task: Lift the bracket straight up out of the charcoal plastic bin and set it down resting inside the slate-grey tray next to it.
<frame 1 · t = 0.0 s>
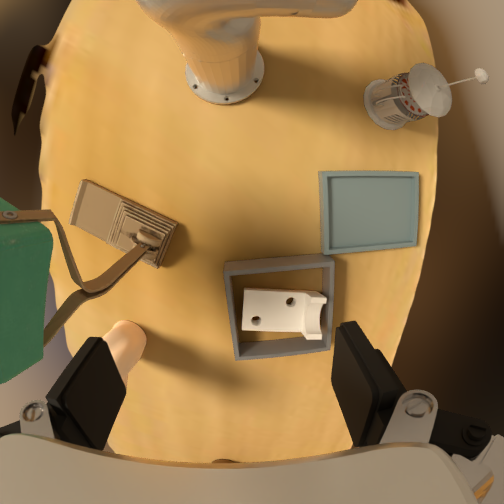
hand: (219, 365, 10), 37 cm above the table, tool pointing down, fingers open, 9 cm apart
bracket: (278, 302, 51), on the table
french press: (383, 104, 40), on the table
water bottle: (131, 333, 52), on the table
tray: (370, 209, 46), on the table
bin: (279, 303, 50), on the table
banker's lamp: (117, 219, 45), on the table
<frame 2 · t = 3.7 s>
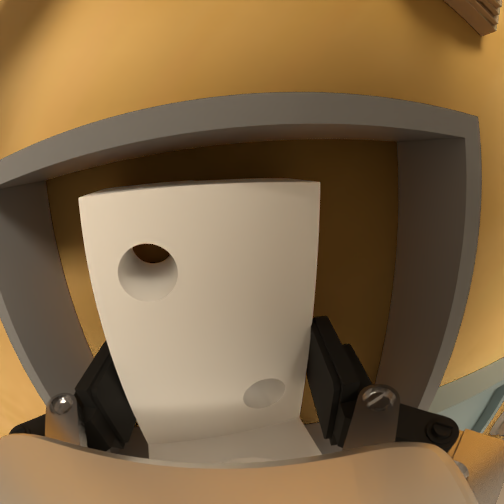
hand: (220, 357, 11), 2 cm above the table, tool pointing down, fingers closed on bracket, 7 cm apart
bracket: (224, 323, 13), on the table, touching gripper
tray: (423, 445, 18), on the table
bin: (227, 329, 13), on the table
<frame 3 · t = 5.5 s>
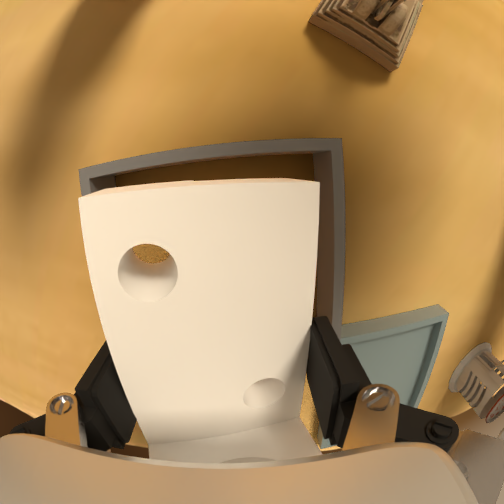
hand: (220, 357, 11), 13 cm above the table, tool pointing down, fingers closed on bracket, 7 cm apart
bracket: (224, 323, 13), point 11 cm above the table, touching gripper
french press: (471, 363, 30), on the table
tray: (376, 381, 28), on the table
bin: (220, 259, 23), on the table
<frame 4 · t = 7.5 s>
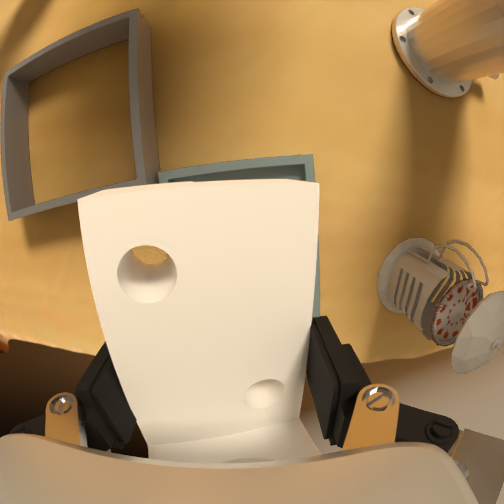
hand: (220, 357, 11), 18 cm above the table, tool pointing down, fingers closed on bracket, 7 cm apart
bracket: (224, 324, 13), point 15 cm above the table, touching gripper
french press: (410, 269, 29), on the table
tray: (245, 256, 28), on the table
bin: (78, 119, 23), on the table
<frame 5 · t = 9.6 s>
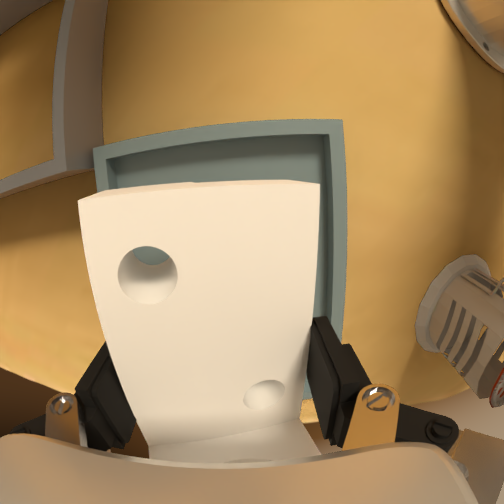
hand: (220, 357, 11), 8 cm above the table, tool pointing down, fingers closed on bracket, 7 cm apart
bracket: (224, 325, 13), point 5 cm above the table, touching gripper
french press: (457, 297, 19), on the table
tray: (230, 280, 18), on the table
bin: (15, 88, 13), on the table
when the fingers open (4 cm above the table, at t = 11.3 s): bracket drops 1 cm, resting on tray.
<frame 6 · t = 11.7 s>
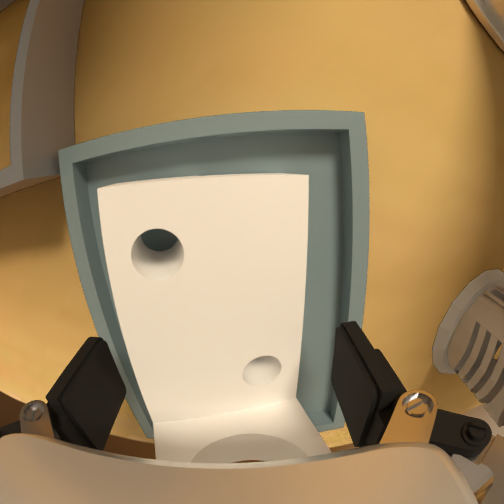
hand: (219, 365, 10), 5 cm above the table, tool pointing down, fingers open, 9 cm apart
bracket: (225, 308, 14), point 1 cm above the table, touching tray
french press: (476, 315, 16), on the table
tray: (225, 307, 15), on the table
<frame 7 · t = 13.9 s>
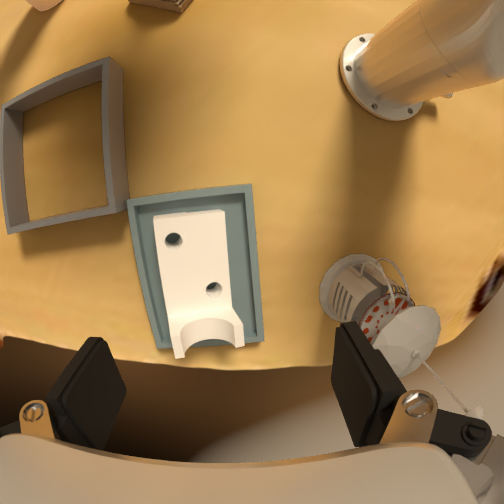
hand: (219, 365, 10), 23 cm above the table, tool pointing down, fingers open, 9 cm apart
bracket: (200, 267, 32), point 1 cm above the table, touching tray
french press: (352, 282, 35), on the table
tray: (199, 269, 33), on the table
bin: (64, 150, 28), on the table
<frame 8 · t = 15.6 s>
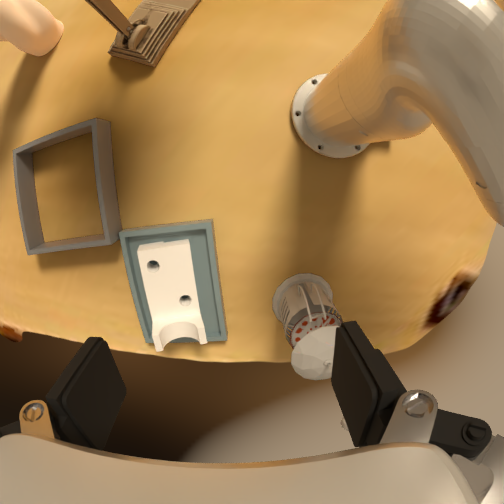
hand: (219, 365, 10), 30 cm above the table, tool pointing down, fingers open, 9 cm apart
bracket: (177, 282, 41), point 1 cm above the table, touching tray
french press: (302, 296, 43), on the table
water bottle: (50, 39, 28), on the table
tray: (176, 283, 42), on the table
bin: (69, 188, 37), on the table
banker's lamp: (167, 9, 29), on the table
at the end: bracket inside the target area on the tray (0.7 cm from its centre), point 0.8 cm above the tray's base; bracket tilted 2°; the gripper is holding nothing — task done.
